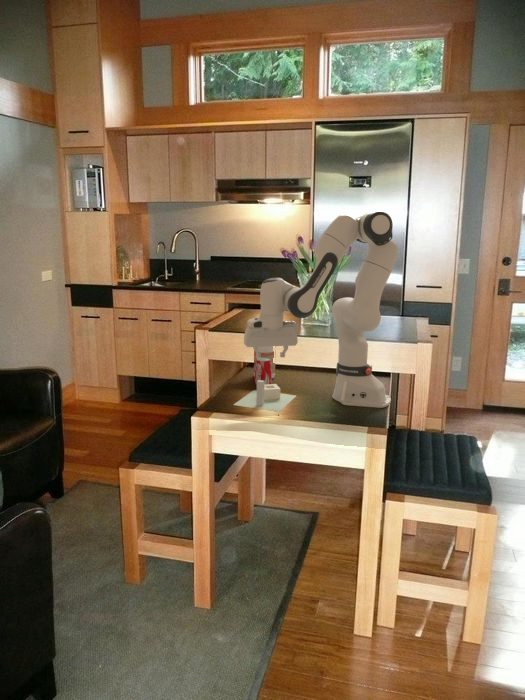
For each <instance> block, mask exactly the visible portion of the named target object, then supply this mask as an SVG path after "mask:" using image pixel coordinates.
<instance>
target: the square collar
mask: <svg viewBox="0 0 525 700" xmlns="http://www.w3.org/2000/svg"><path fill="white" fill-rule="evenodd" d="M278 385H279V384H277V383H271V384H267V385H265V386H264V400H270V399H280V393H281V388H280V386H278Z"/></svg>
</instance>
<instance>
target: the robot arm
mask: <svg viewBox="0 0 525 700" xmlns="http://www.w3.org/2000/svg"><path fill="white" fill-rule="evenodd" d="M392 239H393V220H392V217H391V216H390V214H389V213H387V212H385V211H384V210H373V211H370V212H367V213H365V214H363V215H361V216H359V217H357V218H355V217H353V216H352V215H350V214H347V213H343V214H339V215H338V216H337V217H336V218H335V219H334V220H333V221H332V222H331V223H329V225H328V226H327V228H325V230H324V232H323V233H322V234H321V236H320V237H319V239H318V240H317V242H316V245H315V248H314V256H315V258H316V263H315V264H316V265H315V268H314V270H313V271H312V273H311V275H310V276H309V278H308V279H307V281H306V283H305V284H304V285H303V286H302V287H299V286H297V285H293V284H291V283H289V282H287V281H285V280H284V279H283V278H282V277H269V278H267V279H264V280H263V281H262V283H261V287H260V295H259V304H260V311H259V315H258V316H256V317H253V318H249V319H247V321H246V322H247V323H246V324H247V327H246V328H245V329H244V335H243V344H244V345H245V347H247V348H252V349H253V352H254V351H255V352H256V358H261V354H260V353H258V352H257V350H258V347H268V346H275V347H283V350H282V351H280V352H279V353H280V355H279V357H280V358H286V353H287V351H288V350H289V347H291V346H292V347H294V346H297V345H298V339H299V338H298V330H299V324H298V323H297V322H295V321H294V320H291V321H290V320H289V321H288V320H285V321H284V313H285V312H289V313H290V314H292V316H294V317H296V318H298V319H305V318H309V317H310V316H311V315H313V313H314V312H315V311H316V309H317V305H318V301H319V298H320V295H321V293H322V292H323V290H324V289H325V287H326V285H328V282H329V280H330V279H331V277H332V275H333V274H334V272H335V270H336V268H337V267H338V265H339V263H340V262H341V260H342V259H343V257H344V256H345V254H346V253H347V251H348V250H349V249H350V247H351V245H352V244H353V243H354V242H356V241H357V242H359V243H363V244H367V245H368V250H367V255H366V256H365V258H364V260H363V262H362V264H361V266H360V269H359V270H358V273H357V275H356V277H355V280H354V281H355V282H354V283H355V292H354V297H349V296H348V297H341V298H340V297H339V299H337V300H335V301H334V302H333V304H332V307H331V315H332V317H333V319H334V322H335V326H336V332H337V339H338V360H337V363H336V370H335V371H336V372H335V374H336V381H335V385H334V391H333V393H332V395H331V397H332V399H334V400H335V401H337V402H339V403H340V404H341V405H344V406H351V407H353V406H354V407H364V408H365V407H366V408H379V409H381V408H386V407H388V406H389V405H390V404H391V401H392V398H391V397H390V395H389V394H386V388H385V385H384V383H383V382H382V381H381V380H379V379H378V378H377V377H376V376H375V375H373V365H370V364H368V353H369V352H368V351H369V350H368V348H369V344H368V341H367V339H366V336H365V333H364V332H372V331H375V330H376V328H378V327H379V325H380V322H381V319H382V317H381V316H382V315H381V311H380V304H381V298H382V294H383V292H384V289H385V286H386V285H387V281H388V280H389V277H390V275H391V273H392V271H393V269H394V267H395V263H396V261H397V257H398V254H399V247H398V245H397V244H396V243H395V241H393V240H392ZM256 349H257V350H256Z"/></svg>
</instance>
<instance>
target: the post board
mask: <svg viewBox="0 0 525 700" xmlns="http://www.w3.org/2000/svg"><path fill="white" fill-rule="evenodd" d="M264 386H265V381H263V380H258V381H257V385H256V389H254V390H253V389H252V391H250V392H249V393H248V394H246V395H244V396H243V397H242V398H240V399H239V400H238V401H236V402H235V403H234V404H233V406H237V407H242V408H243V407H244V408H245V407H246V408H252V409H257V410H265V411H270V412H276V413H280V412H281V411H282V410H283V409H284V408H285V407H286V406H288V404H290V403H291V402H292V401H293V400H294V399H295V398H296V397H297V395H293V394H288V393H282V392H280V399H270V400H264ZM277 415H278V416H280V414H277ZM278 416H277V417H278Z"/></svg>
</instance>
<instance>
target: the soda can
mask: <svg viewBox="0 0 525 700" xmlns="http://www.w3.org/2000/svg"><path fill="white" fill-rule="evenodd" d="M270 360H271V359H270V358H267V357H261V358H257V361H256V362H255V377H254V384H255V385H256V386H257V381H258V380H263V381H265V385H267V384H273V383H272V381H273V378H272V362H271V361H270Z"/></svg>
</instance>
